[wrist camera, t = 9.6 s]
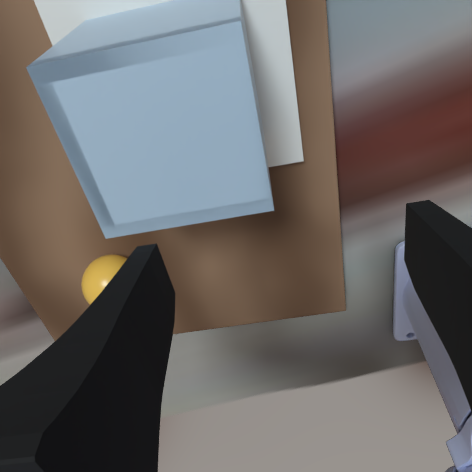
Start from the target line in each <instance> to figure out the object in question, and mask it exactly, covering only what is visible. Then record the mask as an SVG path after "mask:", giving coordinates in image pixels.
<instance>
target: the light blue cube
mask: <svg viewBox="0 0 472 472" xmlns="http://www.w3.org/2000/svg"><path fill="white" fill-rule="evenodd" d="M26 68H27V71H28V73H29V75H30V77H31V79H32V81H33V84H34V86H35V88H36V90H37V92H38V94H39V96H40V99H41V101H42V103H43V105H44V107H45V109H46V111H47V114H48V116H49V118H50V120H51V122H52V124H53V126H54V129H55V131H56V133H57V135H58V137H59V139H60V141H61V144H62V146H63V148H64V150H65V152H66V154H67V157H68V159H69V161H70V163H71V165H72V167H73V169H74V172H75V174H76V176H77V178H78V180H79V182H80V184H81V187H82V189H83V191H84V193H85V195H86V197H87V199H88V202H89V204H90V206H91V208H92V210H93V212H94V214H95V217H96V219H97V221H98V223H99V225H100V227H101V229H102V232H103V234H104V236H105V238H106V239H108V238H114V237H119V236H125V235H131V234H137V233H143V232H149V231H155V230H161V229H167V228H173V227H179V226H185V225H191V224H197V223H203V222H209V221H215V220H221V219H227V218H233V217H239V216H245V215H251V214H257V213H263V212H269V211H274V205H273V197H272V190H271V183H270V175H269V168H268V160H267V153H266V146H265V138H264V132H263V126H262V120H261V114H260V108H259V103H258V97H257V91H256V85H255V79H254V73H253V68H252V62H251V56H250V50H249V44H248V38H247V33H246V27H245V21H244V15H243V9H242V4H241V0H172V1H168V2H164V3H159V4H155V5H150V6H146V7H141V8H137V9H133V10H128V11H124V12H119V13H115V14H110V15H106V16H102V17H97V18H93V19H88V20H85V21H84V22H83V23H81V24H80V25H79V26H78V27H76V28H75V29H74V30H73V31H71V32H70V33H69V34H68V35H66V36H65V37H64V38H62V39H61V40H60V41H59V42H57V43H56V44H55V45H54V46H52V47H51V48H50V49H49V50H47V51H46V52H45V53H44V54H42V55H41V56H40V57H38V58H37V59H36V60H35V61H33V62H32V63H31V64H30V65H28V66H27V67H26Z"/></svg>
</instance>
